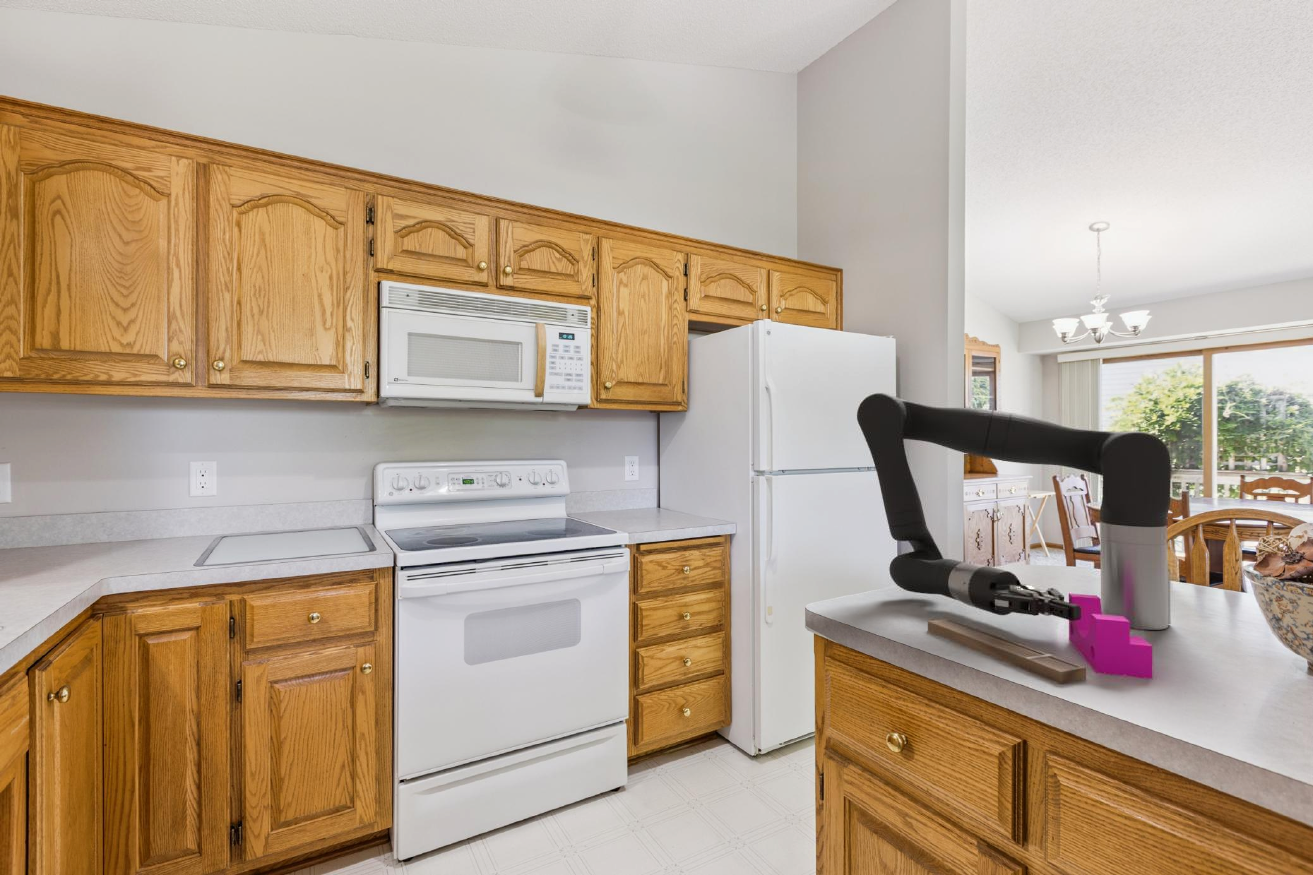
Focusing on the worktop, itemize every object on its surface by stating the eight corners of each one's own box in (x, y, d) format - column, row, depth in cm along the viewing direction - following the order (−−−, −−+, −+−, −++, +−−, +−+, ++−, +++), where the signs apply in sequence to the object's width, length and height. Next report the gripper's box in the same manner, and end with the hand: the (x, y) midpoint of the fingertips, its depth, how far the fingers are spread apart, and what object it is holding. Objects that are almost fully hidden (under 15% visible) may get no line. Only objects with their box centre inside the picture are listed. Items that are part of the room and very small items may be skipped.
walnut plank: (949, 628, 106) (949, 618, 106) (1086, 679, 83) (1086, 666, 83) (927, 630, 104) (927, 620, 104) (1060, 684, 81) (1060, 670, 81)
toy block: (1152, 679, 83) (1152, 623, 83) (1097, 673, 85) (1096, 618, 85) (1115, 644, 97) (1115, 596, 97) (1069, 640, 99) (1068, 593, 99)
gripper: (952, 568, 107) (1043, 591, 90) (1012, 563, 111) (1109, 584, 94) (953, 612, 107) (1043, 643, 90) (1013, 605, 111) (1110, 634, 94)
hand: (1077, 613), depth 92 cm, fingers closed
